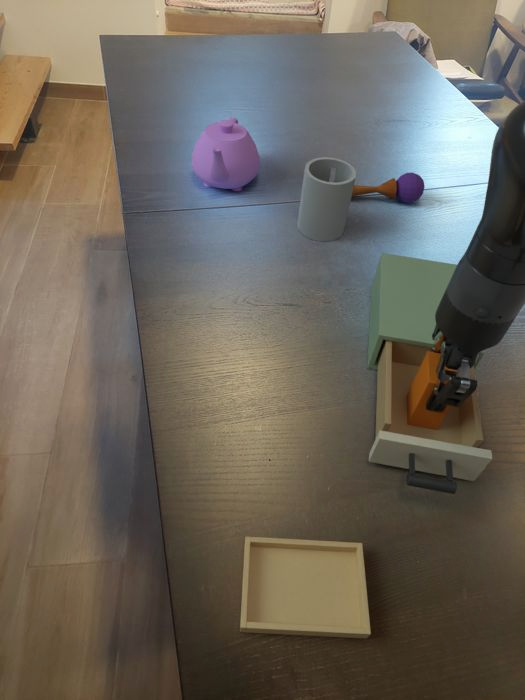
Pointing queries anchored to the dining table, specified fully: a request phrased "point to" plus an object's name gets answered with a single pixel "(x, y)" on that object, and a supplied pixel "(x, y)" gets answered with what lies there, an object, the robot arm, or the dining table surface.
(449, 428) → the drawer
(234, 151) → the teapot
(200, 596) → the dining table surface
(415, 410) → the block
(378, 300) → the cabinet
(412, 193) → the kendama
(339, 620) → the tray
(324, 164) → the cup
